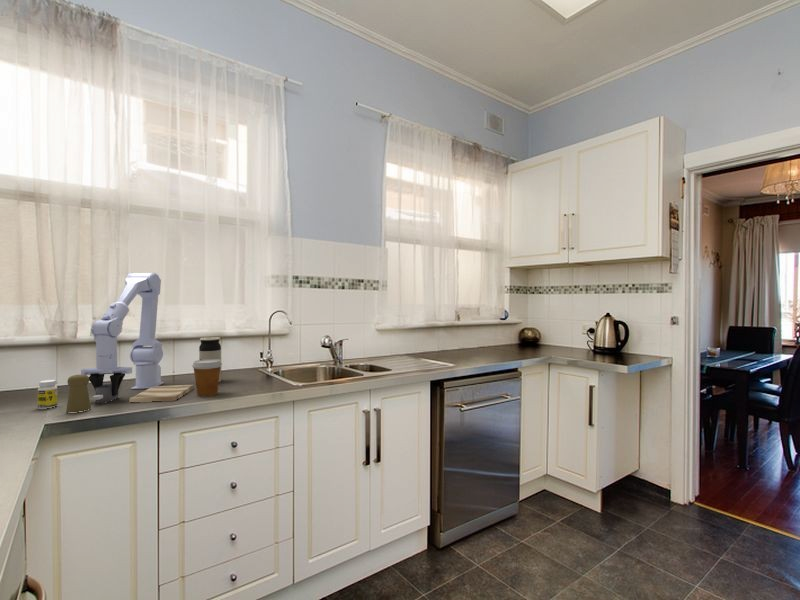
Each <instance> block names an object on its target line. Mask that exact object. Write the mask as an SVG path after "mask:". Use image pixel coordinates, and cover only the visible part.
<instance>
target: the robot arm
mask: <svg viewBox="0 0 800 600" xmlns="http://www.w3.org/2000/svg"><path fill="white" fill-rule="evenodd" d="M124 282H125V286H124V289H123V290H122V292H121V294H120V296H119V298H118V300H117V301H116V302H115V301H114V302H112V303H110V305H109V306H108V308H107V309H106V311H105V312H104V313H103V315H102V317H101V318H100V319H98V320H97V321H94V322H93V324H92V326H91V328H90V331H91V334H92V335H93V341H94V342H95V353H96V355H95V356H96V357H95V358H96V359H95V360H96V361H95V363H96V365H95V366H96V367H92V368H83V369H81V370H80V374H82V375H87V376H88V377H89V382H90V383H91V385H92V386H93V388H94V391H95V393H96V388H97V387H99V386H102V385H104V378H105V375H109V379H110V383H111V384H112V396H116V395H117V394H118V395H119V389H120V386H121V384H122V382H123V379H124V378H125V377H126V375H130V374H132V373H133V367H132V366H129V367H128V366H127V367H126V366H118V336H119V335H120V334H121V333H122V329H123V328H122V326H123V321H124V320H125V319H126V317H127V315H128V313H129V312H130V308H129V306H130V304H131V303H132V302H133V300H134V299H135V297H136V296H137V295H138V296H140V297H141V311H140V323H139V324H140V326H139V336H138V339H137V340H135V341H134V342H133V343H132V345H131V346H132V347H131V349H130V352H129V359H130V360H131V362H132V363H133V365H134V366H135V385H134V386H132V387H130V389H131V390H135V389H136V390H138V389H139V390H141V389H149V388H151V387H153V386H162V385H163V384H164V381H162V375H161V374H162V368H161V365H160V362H161V360H162V359H163V358H164V357H163V356H164V352H163V343H161V342H160V341H159V340H157V338H156V333H157V332H156V330H157V319H158V317H157V316H158V306H159V305H158V303H159V295H161V294H160V293H161V286H162V285H161V284H162V279H161V277H160V276H159V274H158V273H156V272H130V273H128V275H126V277H125V279H124Z"/></svg>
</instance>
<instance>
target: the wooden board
mask: <svg viewBox="0 0 800 600" xmlns="http://www.w3.org/2000/svg"><path fill="white" fill-rule="evenodd" d="M194 386H195V385H194V384H180V385H179V384H178V385H176V384H175V385H159V386H153V387H151V388H146V390H143V391H141V392H140V393H138V394H135V395H134V396H131V397H130V398H129V403H130V402H140V403H153V402H152V401H162V402H175V401H174V400H176V401H177V399H178V398H179V399H181V398H183V395H184V396H185V395H186V393H187V394H188V393H190V392H191V391H193V390H194ZM180 397H181V398H180ZM179 399H178V400H179Z"/></svg>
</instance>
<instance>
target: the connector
mask: <svg viewBox="0 0 800 600" xmlns="http://www.w3.org/2000/svg"><path fill="white" fill-rule="evenodd" d="M116 398H118V399H119V393H118V394H117V395H116V396H112V384H111V382H110V383H109V382H108V383H103V385H102V386H99V387H97V388H96V392H95V395H93V396H91V400H92V401H94V400H95V404H96V403H105V402H109V401H111V400H113V401H115V400H117V399H116ZM114 399H115V400H114ZM111 402H112V401H111ZM109 403H110V402H109ZM105 404H106V403H105Z"/></svg>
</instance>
